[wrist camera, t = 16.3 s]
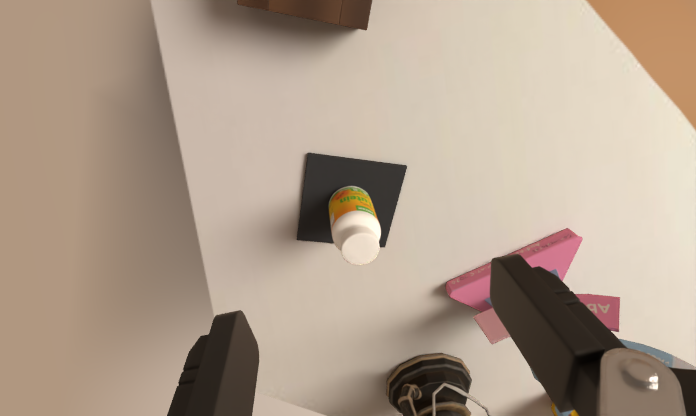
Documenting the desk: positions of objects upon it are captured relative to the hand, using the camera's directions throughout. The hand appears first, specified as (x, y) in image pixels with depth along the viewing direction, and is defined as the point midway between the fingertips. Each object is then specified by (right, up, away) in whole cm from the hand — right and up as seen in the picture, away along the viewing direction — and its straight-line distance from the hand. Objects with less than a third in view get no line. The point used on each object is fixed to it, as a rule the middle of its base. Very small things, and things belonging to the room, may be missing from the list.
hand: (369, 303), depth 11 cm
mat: (0, +4, +33) cm, 33 cm away
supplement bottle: (0, +4, +32) cm, 33 cm away
